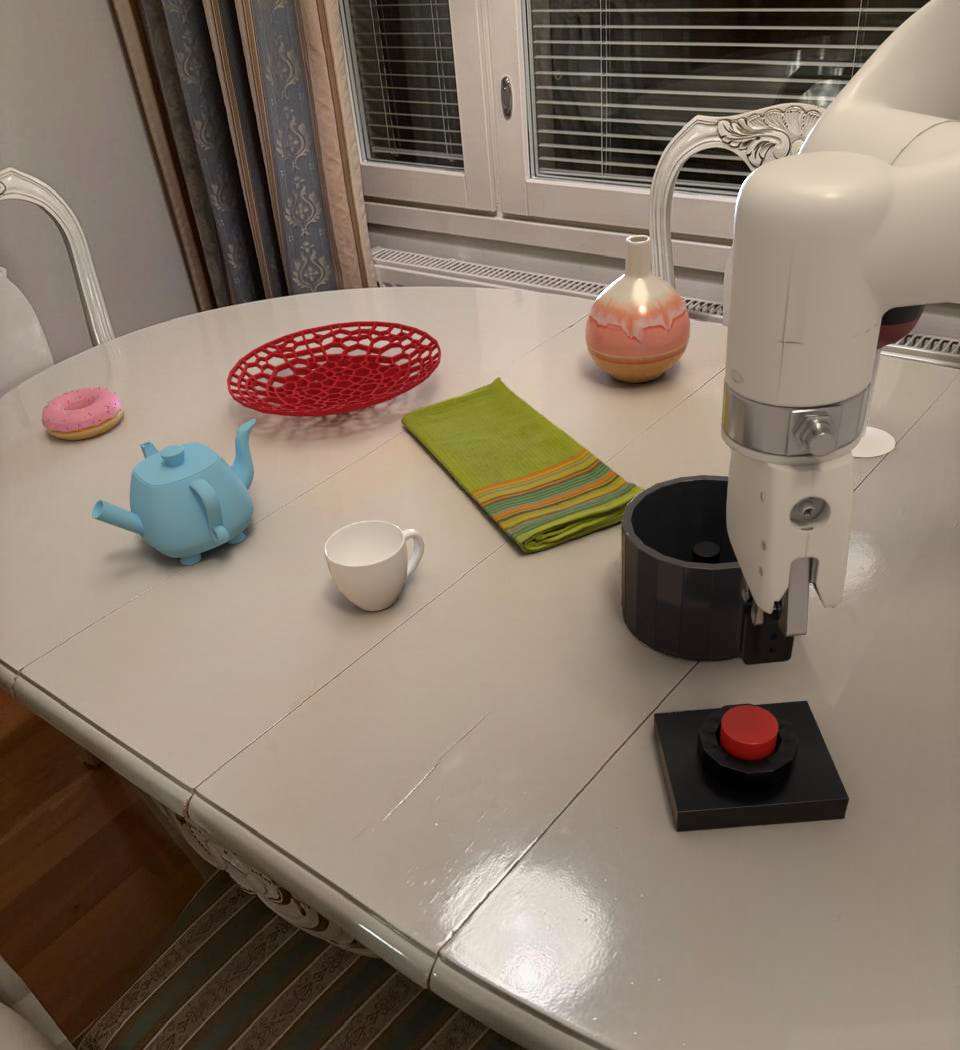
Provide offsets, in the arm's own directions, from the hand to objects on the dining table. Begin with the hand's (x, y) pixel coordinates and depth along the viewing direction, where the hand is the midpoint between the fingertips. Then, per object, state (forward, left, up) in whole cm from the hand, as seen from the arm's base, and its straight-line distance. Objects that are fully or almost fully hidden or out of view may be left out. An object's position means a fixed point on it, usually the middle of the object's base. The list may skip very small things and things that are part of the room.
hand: (763, 655), depth 62 cm
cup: (+29, -27, -12) cm, 42 cm away
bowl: (+38, -74, -12) cm, 84 cm away
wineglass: (-25, -48, -12) cm, 55 cm away
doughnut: (+74, -73, -12) cm, 105 cm away
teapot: (+51, -41, -12) cm, 67 cm away
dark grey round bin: (-1, -20, -12) cm, 23 cm away
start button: (0, 0, -8) cm, 8 cm away
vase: (-3, -72, -12) cm, 73 cm away
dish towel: (+15, -50, -12) cm, 53 cm away
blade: (-1, -20, -11) cm, 23 cm away
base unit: (0, 0, -12) cm, 12 cm away
